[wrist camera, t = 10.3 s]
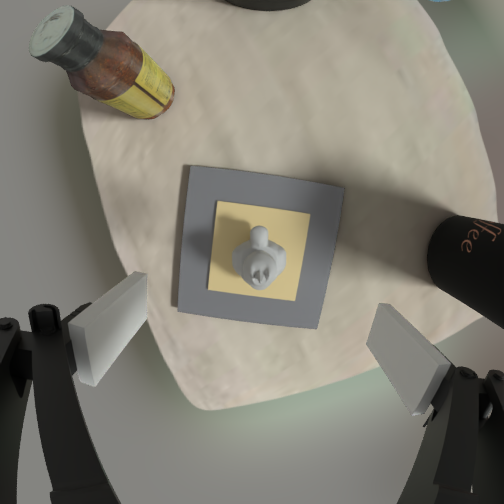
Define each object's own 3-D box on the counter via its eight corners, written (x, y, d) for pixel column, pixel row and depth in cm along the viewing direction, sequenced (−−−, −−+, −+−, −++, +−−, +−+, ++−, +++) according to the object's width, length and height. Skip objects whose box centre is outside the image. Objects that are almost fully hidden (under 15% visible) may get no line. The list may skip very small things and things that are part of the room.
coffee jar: (475, 212, 31) (569, 232, 13) (472, 281, 33) (553, 326, 15) (423, 216, 31) (529, 242, 13) (421, 294, 33) (506, 358, 16)
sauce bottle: (153, 67, 27) (71, -22, 8) (187, 92, 28) (115, -5, 9) (118, 106, 28) (8, 50, 9) (149, 134, 29) (37, 81, 10)
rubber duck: (234, 281, 31) (228, 310, 24) (233, 222, 30) (225, 232, 22) (283, 280, 31) (292, 309, 24) (283, 221, 30) (294, 232, 22)
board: (192, 166, 30) (190, 165, 29) (342, 188, 30) (345, 187, 29) (179, 308, 34) (176, 312, 32) (315, 325, 34) (317, 330, 33)
